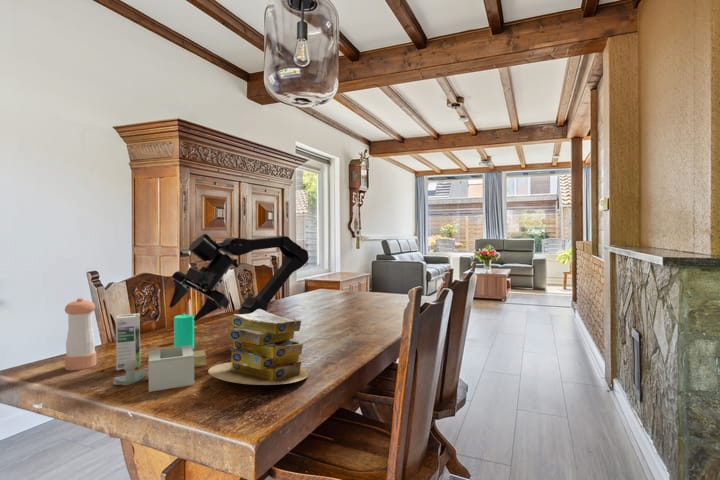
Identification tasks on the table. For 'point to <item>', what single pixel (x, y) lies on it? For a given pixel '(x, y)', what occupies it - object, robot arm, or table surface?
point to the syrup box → (127, 339)
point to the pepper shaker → (80, 336)
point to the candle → (184, 330)
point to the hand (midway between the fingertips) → (182, 313)
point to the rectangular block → (199, 358)
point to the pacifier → (130, 374)
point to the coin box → (171, 367)
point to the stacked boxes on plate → (262, 351)
